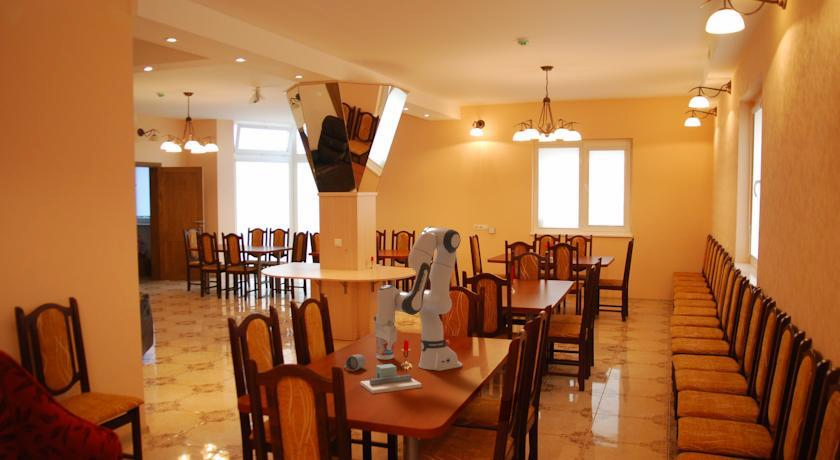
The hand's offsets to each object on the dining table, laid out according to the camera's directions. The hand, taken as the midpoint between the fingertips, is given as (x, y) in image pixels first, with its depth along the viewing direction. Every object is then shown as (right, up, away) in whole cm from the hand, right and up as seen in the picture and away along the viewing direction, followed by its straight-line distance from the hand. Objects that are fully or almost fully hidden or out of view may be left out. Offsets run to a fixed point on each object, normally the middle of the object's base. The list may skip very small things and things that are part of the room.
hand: (385, 348), depth 326 cm
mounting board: (+3, -15, -12) cm, 20 cm away
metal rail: (+3, -14, -12) cm, 19 cm away
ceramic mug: (-17, -14, +19) cm, 29 cm away
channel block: (0, -15, +1) cm, 15 cm away
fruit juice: (-2, -13, +43) cm, 45 cm away
